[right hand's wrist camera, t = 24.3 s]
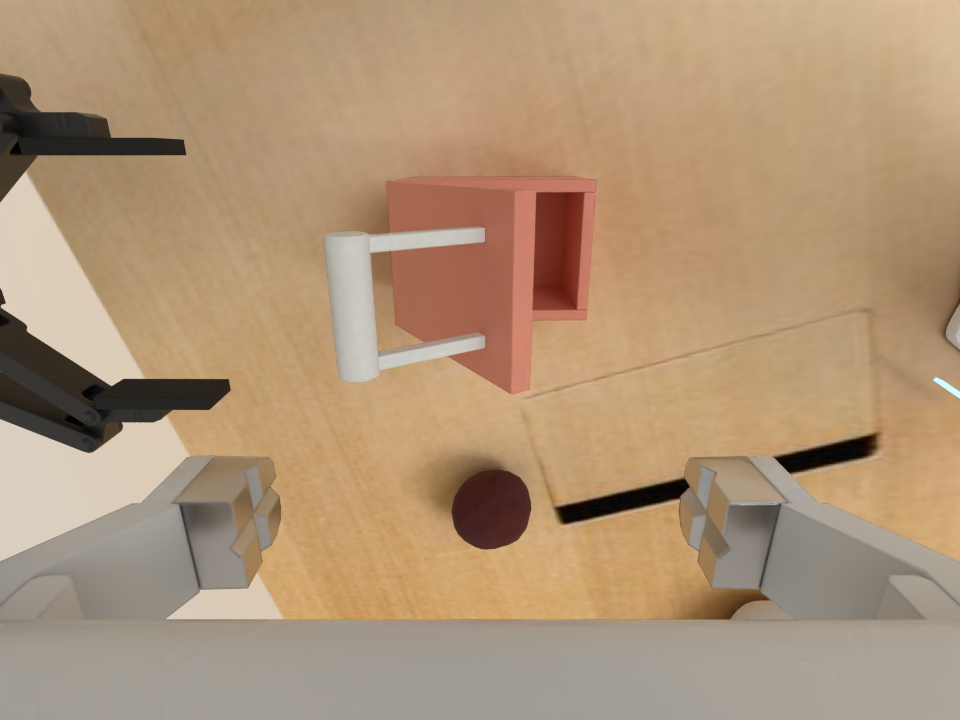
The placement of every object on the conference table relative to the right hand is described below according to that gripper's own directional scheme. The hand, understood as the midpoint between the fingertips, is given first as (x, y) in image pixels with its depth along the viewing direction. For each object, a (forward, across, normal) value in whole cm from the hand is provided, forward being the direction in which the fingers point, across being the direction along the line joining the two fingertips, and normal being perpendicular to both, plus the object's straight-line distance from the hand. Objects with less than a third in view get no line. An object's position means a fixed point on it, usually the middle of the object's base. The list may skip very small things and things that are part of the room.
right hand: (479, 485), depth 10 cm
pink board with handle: (+21, +1, 0) cm, 21 cm away
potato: (+36, -1, +25) cm, 44 cm away
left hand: (+20, +16, 0) cm, 25 cm away
